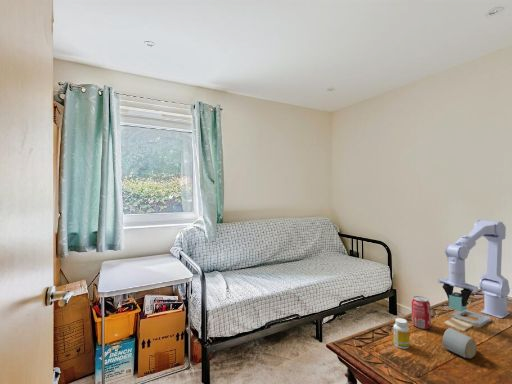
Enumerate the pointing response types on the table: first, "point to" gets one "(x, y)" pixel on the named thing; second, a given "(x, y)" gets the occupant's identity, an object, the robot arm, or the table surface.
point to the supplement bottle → (401, 333)
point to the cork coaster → (458, 324)
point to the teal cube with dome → (456, 302)
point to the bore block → (478, 323)
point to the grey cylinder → (459, 343)
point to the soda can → (421, 312)
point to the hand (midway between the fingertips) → (457, 303)
